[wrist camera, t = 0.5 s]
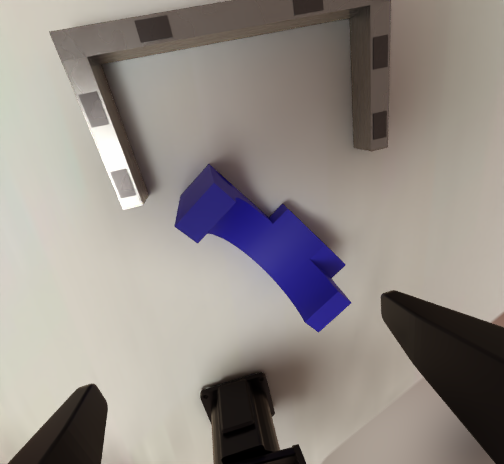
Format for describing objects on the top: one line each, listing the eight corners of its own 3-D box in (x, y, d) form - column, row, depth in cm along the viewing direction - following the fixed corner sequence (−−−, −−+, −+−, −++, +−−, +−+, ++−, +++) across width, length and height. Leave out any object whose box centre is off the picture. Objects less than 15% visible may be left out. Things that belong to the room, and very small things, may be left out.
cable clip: (328, 247, 23) (368, 287, 18) (290, 283, 24) (318, 332, 19) (223, 146, 18) (234, 159, 13) (180, 195, 19) (174, 226, 14)
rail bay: (368, 144, 20) (388, 147, 18) (130, 199, 18) (122, 210, 16) (367, -10, 16) (392, -28, 14) (68, 43, 15) (48, 31, 13)
